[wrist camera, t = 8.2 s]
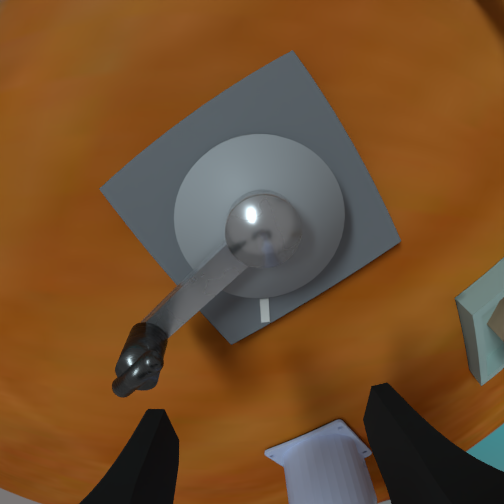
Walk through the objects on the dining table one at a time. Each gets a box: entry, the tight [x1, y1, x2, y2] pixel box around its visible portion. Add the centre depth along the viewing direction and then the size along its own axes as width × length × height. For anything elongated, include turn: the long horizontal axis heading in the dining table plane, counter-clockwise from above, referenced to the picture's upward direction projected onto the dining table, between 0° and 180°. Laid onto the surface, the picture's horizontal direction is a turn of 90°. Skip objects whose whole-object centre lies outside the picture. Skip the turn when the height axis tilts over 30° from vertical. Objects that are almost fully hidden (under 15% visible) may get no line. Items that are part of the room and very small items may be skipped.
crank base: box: [100, 50, 401, 345], centre depth 16 cm, size 12×12×2 cm
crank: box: [112, 189, 302, 397], centre depth 13 cm, size 11×3×4 cm, turn 134°
